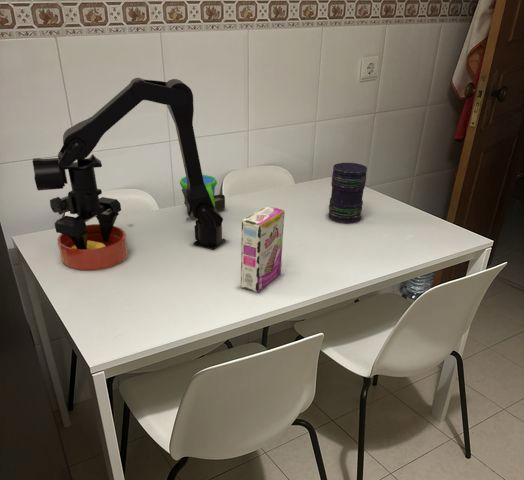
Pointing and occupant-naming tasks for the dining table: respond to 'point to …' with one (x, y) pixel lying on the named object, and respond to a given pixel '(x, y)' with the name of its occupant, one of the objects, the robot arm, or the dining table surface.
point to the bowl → (94, 250)
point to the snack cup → (209, 183)
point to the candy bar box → (261, 248)
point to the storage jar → (347, 192)
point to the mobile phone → (218, 205)
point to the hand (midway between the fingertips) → (95, 248)
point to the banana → (92, 245)
